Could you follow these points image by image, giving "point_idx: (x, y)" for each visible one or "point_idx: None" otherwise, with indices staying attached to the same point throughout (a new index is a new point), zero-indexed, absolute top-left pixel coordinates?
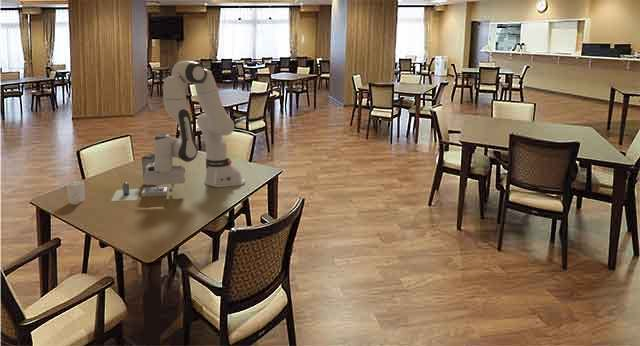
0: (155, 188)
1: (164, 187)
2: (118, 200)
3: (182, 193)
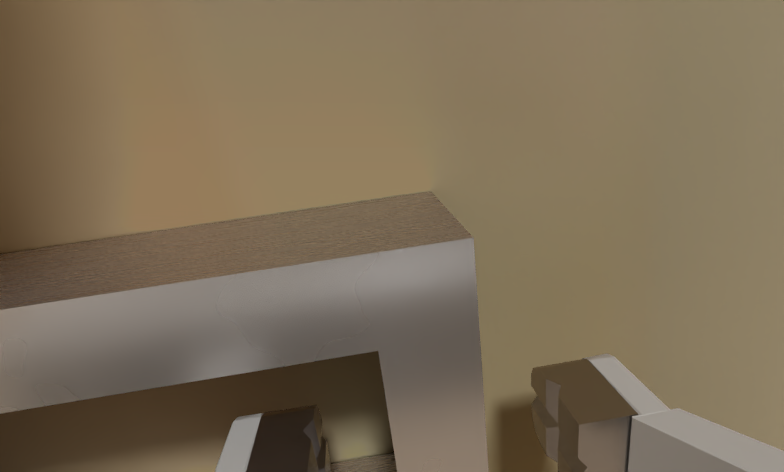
0: (70, 396)
1: (376, 303)
2: None
3: (759, 261)
